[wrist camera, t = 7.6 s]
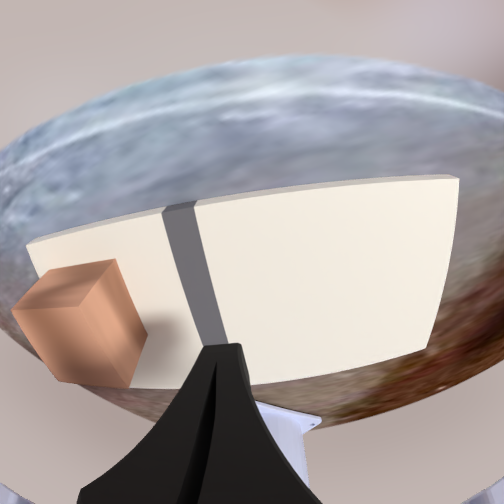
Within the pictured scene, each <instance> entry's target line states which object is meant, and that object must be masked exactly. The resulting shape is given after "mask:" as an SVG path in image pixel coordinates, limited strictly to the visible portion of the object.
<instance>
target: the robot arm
mask: <svg viewBox="0 0 504 504" xmlns="http://www.w3.org/2000/svg"><path fill="white" fill-rule="evenodd" d="M321 421H322V420H321V417H319V416H314V415H310V414H305V413H301V412H296V411H292V410H288V409H284V408H280V407H276V406H273V405H269V404H265V403H262V402H258V401H255V400H254V398H253V395H252V392H251V386H250V376H249V372H248V368H247V364H246V360H245V356H244V352H243V348H242V345H241V344H240V343H228V344H218V345H206V346H204V347H203V348H202V350H201V352H200V354H199V356H198V357H197V359H196V361H195V363H194V365H193V367H192V369H191V371H190V373H189V374H188V376H187V378H186V380H185V381H184V383H183V385H182V386H181V388H180V390H179V391H178V393H177V394H176V396H175V398H174V399H173V400H172V402H171V403H170V405H169V406H168V408H167V409H166V411H165V412H164V414H163V415H162V416H161V418H160V419H159V420H158V422H157V423H156V424H155V426H153V428H152V429H151V430H150V431H149V433H148V434H147V435H146V436H145V437H144V438H143V439H142V440H141V441H140V442H139V443H138V444H137V445H136V447H135V448H134V449H133V450H132V451H130V452H129V453H128V454H127V455H126V456H125V457H124V458H123V459H122V460H120V461H119V462H118V463H117V464H116V465H114V466H113V467H112V468H111V469H110V470H108V471H107V472H106V473H104V474H103V475H102V476H100V477H99V478H97V479H96V480H94V481H93V482H91V483H90V484H88V485H87V486H85V487H83V488H82V489H81V490H80V493H79V496H78V500H77V504H322V503H321V502H320V500H319V499H318V498H317V497H316V496H315V495H314V494H313V493H312V491H311V490H310V486H309V479H308V472H307V464H306V457H305V450H304V444H303V437H302V434H304V433H305V432H307V431H309V430H310V429H312V428H313V427H315V426H316V425H318V424H319V423H321ZM0 504H35V503H33V502H31V501H29V500H28V499H25V498H23V497H22V496H20V495H19V494H17V493H15V492H14V491H12V490H11V489H9V488H8V487H6V486H5V485H3V484H2V483H0ZM461 504H504V477H502V478H501V479H500V480H498V481H497V482H495V483H494V484H493V485H492V486H490V487H488V488H486V489H484V490H482V491H481V492H479V493H477V494H476V495H474V496H473V497H471V498H469V499H468V500H466V501H464V502H462V503H461Z"/></svg>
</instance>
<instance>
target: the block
mask: <svg viewBox="0 0 504 504" xmlns="http://www.w3.org/2000/svg"><path fill="white" fill-rule="evenodd" d="M11 312H12V313H13V315H14V317H15V319H16V320H17V322H18V324H19V325H20V327H21V329H22V330H23V332H24V334H25V335H26V337H27V338H28V340H29V341H30V343H31V344H32V346H33V347H34V349H35V350H36V352H37V353H38V355H39V356H40V358H41V359H42V360H43V362H44V363H45V364H46V366H47V367H48V368H49V370H50V371H51V372H52V374H53V375H54V376H55V378H56V379H57V380H58V381H61V382H67V383H74V384H81V385H89V386H99V387H110V388H123V389H129V387H130V384H131V381H132V378H133V375H134V372H135V369H136V366H137V364H138V361H139V358H140V355H141V353H142V350H143V347H144V344H145V342H146V339H147V337H148V334H147V332H146V330H145V328H144V325H143V323H142V321H141V319H140V317H139V314H138V312H137V310H136V308H135V305H134V303H133V301H132V298H131V296H130V294H129V291H128V289H127V286H126V284H125V282H124V279H123V277H122V274H121V271H120V269H119V266H118V263H117V261H116V258H115V259H109V260H103V261H97V262H91V263H85V264H79V265H73V266H67V267H62V268H56V269H50V270H48V271H47V272H46V273H45V274H44V275H43V276H42V277H41V278H40V279H39V280H38V281H37V282H36V283H35V284H34V285H33V286H32V287H31V288H30V289H29V290H28V292H27V293H26V294H25V295H24V296H23V297H22V298H21V299H20V300H19V301H18V302H17V303H16V305H15V306H14V307H13V308H12V309H11Z"/></svg>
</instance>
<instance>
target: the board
mask: <svg viewBox="0 0 504 504" xmlns="http://www.w3.org/2000/svg"><path fill="white" fill-rule="evenodd" d="M458 191H459V178H456V177H454V176H451V175H449V174H439V175H413V176H395V177H380V178H367V179H355V180H344V181H333V182H324V183H314V184H306V185H297V186H289V187H281V188H274V189H267V190H259V191H253V192H246V193H239V194H233V195H227V196H221V197H215V198H209V199H203V200H198V201H192V202H187V203H181V204H176V205H171V206H166V207H161V208H156V209H151V210H146V211H142V212H137V213H132V214H128V215H123V216H119V217H115V218H110V219H106V220H102V221H98V222H94V223H90V224H86V225H82V226H78V227H74V228H70V229H67V230H63V231H59V232H56V233H52V234H48V235H45V236H41V237H38V238H35V239H33V240H32V241H31V242H30V243H28V244H27V245H26V247H27V250H28V252H29V255H30V257H31V260H32V262H33V264H34V267H35V269H36V271H37V274H38V276H39V278H41V277H42V276H43V275H44V274H45V273H46V272H47V271H48V270H50V269H56V268H62V267H67V266H73V265H79V264H85V263H91V262H97V261H103V260H109V259H115V258H116V261H117V263H118V266H119V269H120V271H121V274H122V277H123V279H124V282H125V284H126V286H127V289H128V291H129V294H130V296H131V298H132V301H133V303H134V305H135V308H136V310H137V312H138V314H139V317H140V319H141V321H142V323H143V325H144V328H145V330H146V332H147V334H148V337H147V339H146V342H145V344H144V347H143V350H142V353H141V355H140V358H139V361H138V364H137V366H136V369H135V372H134V375H133V378H132V381H131V384H130V387H129V388H147V389H180V388H181V386H182V385H183V383H184V381H185V380H186V378H187V376H188V374H189V373H190V371H191V369H192V367H193V365H194V363H195V361H196V359H197V357H198V356H199V354H200V352H201V350H202V348H203V347H204V346H206V345H218V344H228V343H240V344H241V345H242V348H243V352H244V356H245V360H246V364H247V368H248V372H249V376H250V385H255V384H264V383H273V382H280V381H288V380H294V379H301V378H307V377H313V376H318V375H324V374H329V373H334V372H339V371H344V370H348V369H353V368H357V367H361V366H365V365H369V364H373V363H377V362H381V361H385V360H388V359H392V358H395V357H399V356H402V355H406V354H409V353H412V352H415V351H418V350H421V349H424V348H426V346H427V343H428V340H429V337H430V334H431V331H432V328H433V324H434V321H435V318H436V314H437V311H438V307H439V304H440V300H441V296H442V292H443V288H444V284H445V280H446V275H447V270H448V266H449V260H450V255H451V249H452V243H453V237H454V230H455V222H456V214H457V204H458Z"/></svg>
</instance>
